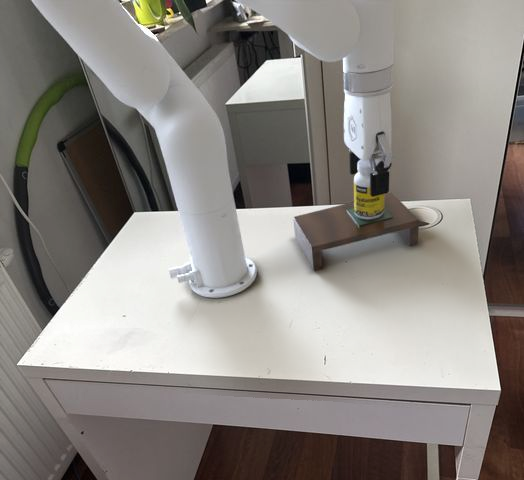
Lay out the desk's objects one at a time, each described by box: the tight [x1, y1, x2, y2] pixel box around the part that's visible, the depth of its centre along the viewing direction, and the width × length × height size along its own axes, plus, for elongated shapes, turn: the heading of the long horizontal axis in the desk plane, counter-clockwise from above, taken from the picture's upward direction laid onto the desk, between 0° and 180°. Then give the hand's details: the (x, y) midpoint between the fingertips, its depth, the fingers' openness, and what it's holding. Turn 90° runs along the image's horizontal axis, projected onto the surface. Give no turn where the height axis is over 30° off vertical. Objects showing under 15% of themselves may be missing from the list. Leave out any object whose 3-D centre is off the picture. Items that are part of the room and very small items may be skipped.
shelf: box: [292, 192, 420, 272], centre depth 98 cm, size 20×12×5 cm, turn 103°
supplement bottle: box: [353, 158, 385, 220], centre depth 93 cm, size 5×5×10 cm
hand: (368, 182), depth 92 cm, fingers open, 9 cm apart
